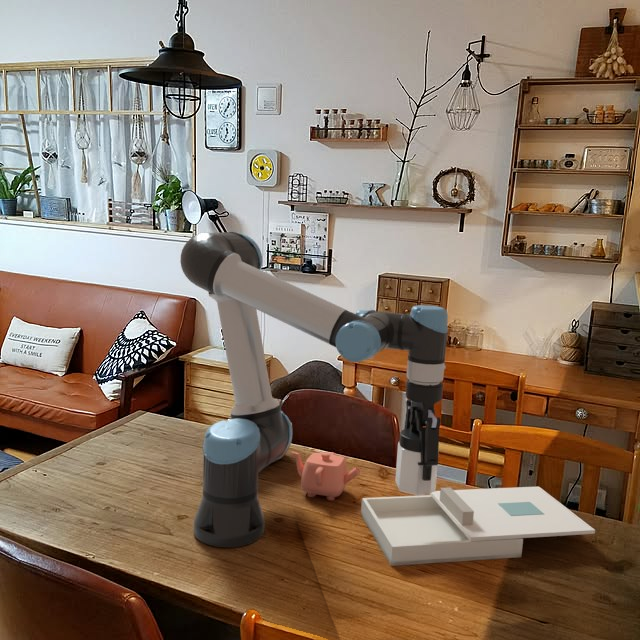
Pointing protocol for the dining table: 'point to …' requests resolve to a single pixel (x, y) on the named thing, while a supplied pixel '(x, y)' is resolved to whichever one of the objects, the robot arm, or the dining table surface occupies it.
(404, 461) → the jar
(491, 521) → the lid
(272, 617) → the dining table surface
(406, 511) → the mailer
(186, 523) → the dining table surface
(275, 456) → the robot arm
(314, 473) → the teapot
